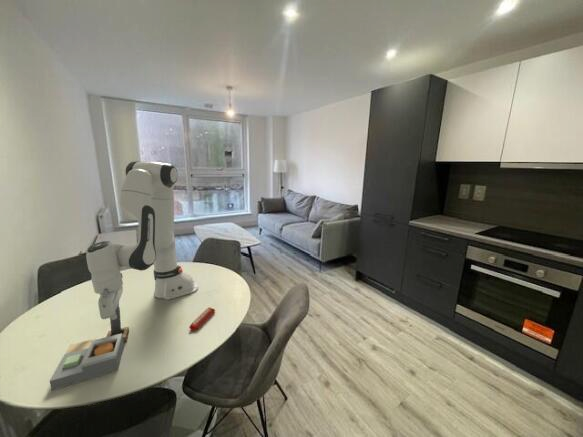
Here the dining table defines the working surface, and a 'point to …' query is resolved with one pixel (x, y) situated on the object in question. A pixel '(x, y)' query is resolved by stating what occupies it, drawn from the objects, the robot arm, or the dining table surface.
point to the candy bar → (201, 319)
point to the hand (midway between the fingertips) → (115, 315)
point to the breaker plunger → (104, 349)
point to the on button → (73, 361)
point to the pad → (79, 346)
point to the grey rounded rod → (116, 323)
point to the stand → (124, 332)
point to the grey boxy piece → (89, 363)
